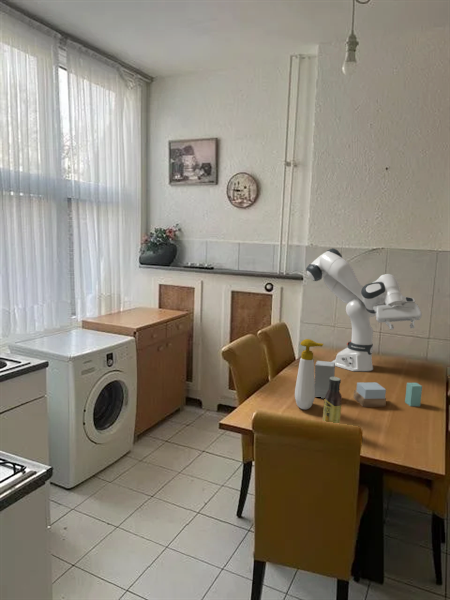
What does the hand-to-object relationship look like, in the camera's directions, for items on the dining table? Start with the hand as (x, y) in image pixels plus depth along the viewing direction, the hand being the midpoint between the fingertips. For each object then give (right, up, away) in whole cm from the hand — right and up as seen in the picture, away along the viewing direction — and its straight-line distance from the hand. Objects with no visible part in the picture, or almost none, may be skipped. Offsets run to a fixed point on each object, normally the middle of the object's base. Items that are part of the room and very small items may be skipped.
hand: (402, 328), depth 200 cm
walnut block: (-18, -32, -9) cm, 38 cm away
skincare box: (-37, -31, -4) cm, 48 cm away
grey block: (-18, -28, -10) cm, 35 cm away
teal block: (0, -33, -10) cm, 34 cm away
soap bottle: (-47, -32, -17) cm, 60 cm away
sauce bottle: (-42, -35, -37) cm, 66 cm away
